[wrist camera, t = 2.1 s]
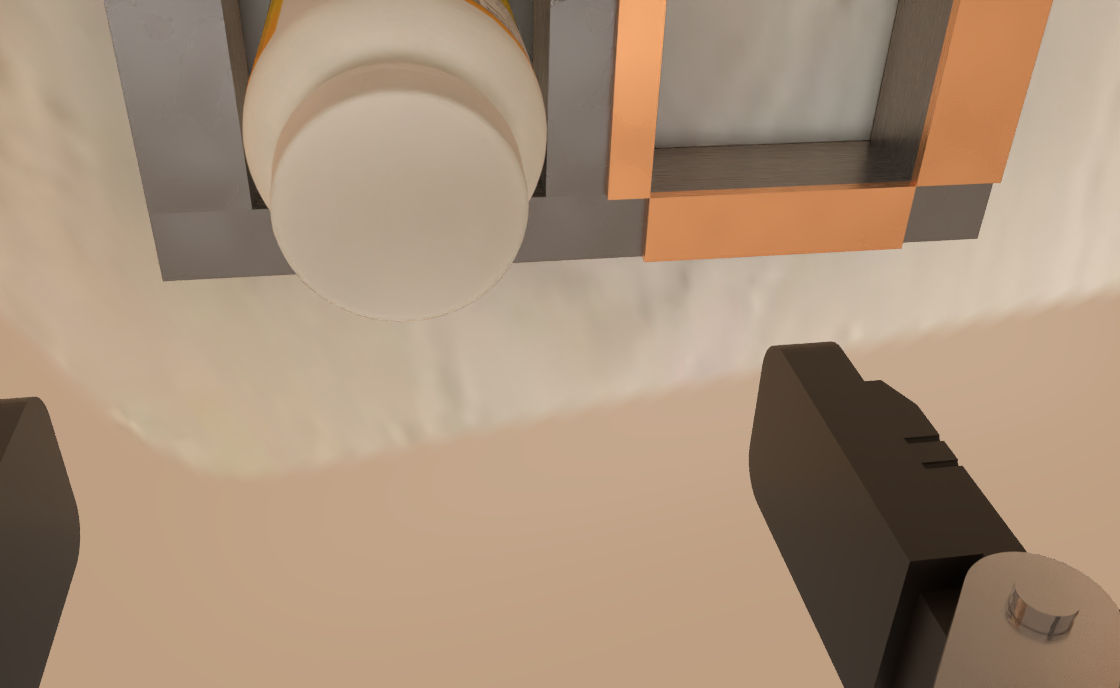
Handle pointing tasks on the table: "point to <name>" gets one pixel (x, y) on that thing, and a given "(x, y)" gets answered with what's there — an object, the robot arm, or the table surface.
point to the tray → (613, 141)
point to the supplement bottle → (395, 148)
